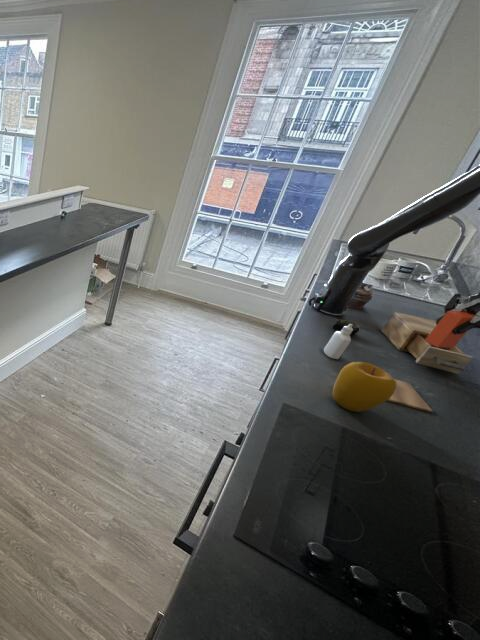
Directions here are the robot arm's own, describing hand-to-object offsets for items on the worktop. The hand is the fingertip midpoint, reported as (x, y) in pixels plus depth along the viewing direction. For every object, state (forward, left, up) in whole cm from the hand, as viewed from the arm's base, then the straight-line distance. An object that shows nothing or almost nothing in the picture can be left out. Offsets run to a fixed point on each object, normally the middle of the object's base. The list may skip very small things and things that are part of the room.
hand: (446, 328), depth 112 cm
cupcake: (+6, +64, -20) cm, 67 cm away
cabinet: (+15, +34, -20) cm, 42 cm away
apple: (-20, -22, -20) cm, 36 cm away
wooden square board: (-4, -6, -20) cm, 21 cm away
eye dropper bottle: (-16, +8, -20) cm, 27 cm away
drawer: (+15, +21, -19) cm, 32 cm away
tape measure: (-6, +30, -20) cm, 37 cm away
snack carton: (+2, +1, -5) cm, 6 cm away
